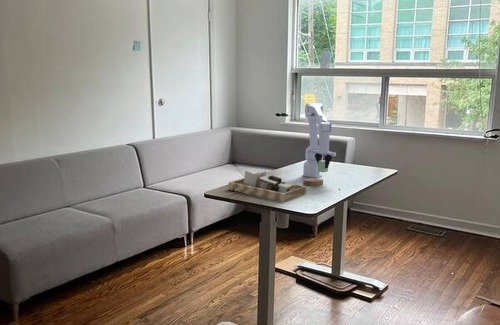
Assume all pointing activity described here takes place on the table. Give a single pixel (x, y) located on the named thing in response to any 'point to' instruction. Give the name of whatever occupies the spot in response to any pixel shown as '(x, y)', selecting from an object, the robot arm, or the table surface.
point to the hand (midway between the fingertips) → (323, 167)
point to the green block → (322, 166)
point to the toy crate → (267, 191)
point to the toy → (267, 182)
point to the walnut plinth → (313, 182)
